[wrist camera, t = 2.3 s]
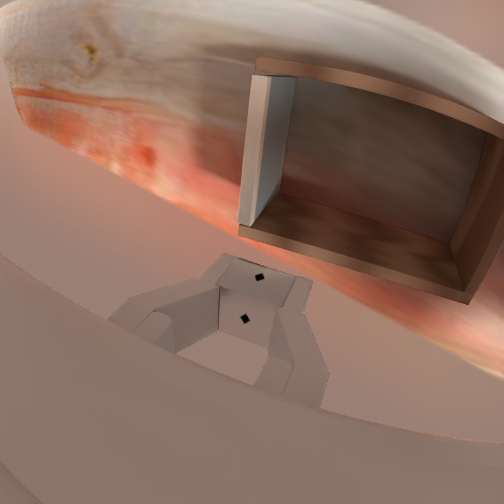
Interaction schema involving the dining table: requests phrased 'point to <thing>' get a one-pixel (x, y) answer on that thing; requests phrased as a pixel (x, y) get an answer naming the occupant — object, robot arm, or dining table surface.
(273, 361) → the robot arm
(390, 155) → the dining table surface
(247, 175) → the panel
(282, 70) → the crate
